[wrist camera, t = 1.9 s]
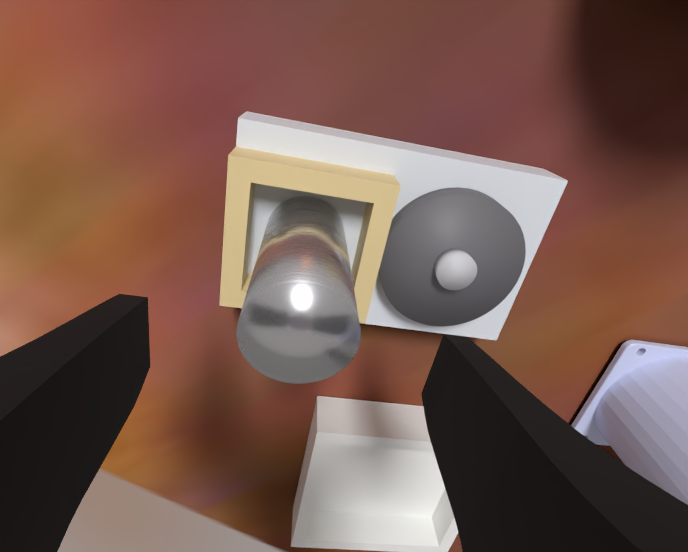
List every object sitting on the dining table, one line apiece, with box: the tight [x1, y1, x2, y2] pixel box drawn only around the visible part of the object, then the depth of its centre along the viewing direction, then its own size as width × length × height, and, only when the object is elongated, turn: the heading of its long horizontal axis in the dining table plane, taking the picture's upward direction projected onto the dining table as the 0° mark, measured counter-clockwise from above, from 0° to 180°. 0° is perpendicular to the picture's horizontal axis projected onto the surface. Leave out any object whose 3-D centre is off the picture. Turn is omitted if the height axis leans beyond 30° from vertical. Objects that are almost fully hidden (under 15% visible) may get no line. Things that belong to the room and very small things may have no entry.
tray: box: [291, 396, 458, 552], centre depth 26 cm, size 11×11×3 cm
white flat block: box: [220, 111, 568, 340], centre depth 17 cm, size 13×8×4 cm, turn 79°
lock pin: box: [237, 196, 361, 384], centre depth 14 cm, size 3×3×7 cm
